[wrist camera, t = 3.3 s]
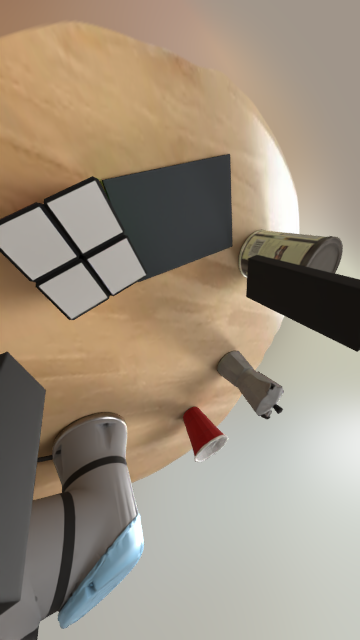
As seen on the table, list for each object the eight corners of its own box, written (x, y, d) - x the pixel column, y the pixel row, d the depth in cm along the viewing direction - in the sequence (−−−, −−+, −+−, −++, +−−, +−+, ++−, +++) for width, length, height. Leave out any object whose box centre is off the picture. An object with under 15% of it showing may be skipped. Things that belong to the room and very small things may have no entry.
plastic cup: (173, 430, 60) (193, 471, 51) (177, 408, 55) (199, 448, 46) (202, 418, 65) (224, 452, 55) (207, 396, 60) (232, 430, 50)
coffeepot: (214, 354, 51) (269, 407, 38) (241, 339, 54) (301, 384, 40) (217, 387, 60) (262, 440, 46) (240, 373, 63) (289, 419, 49)
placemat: (137, 281, 32) (138, 282, 31) (102, 180, 24) (102, 180, 23) (230, 245, 37) (232, 246, 37) (227, 154, 29) (230, 153, 29)
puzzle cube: (8, 222, 22) (-25, 230, 14) (86, 185, 23) (96, 173, 16) (70, 291, 28) (71, 323, 20) (128, 258, 29) (149, 275, 22)
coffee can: (265, 275, 46) (325, 295, 36) (233, 279, 42) (291, 303, 31) (278, 229, 41) (352, 237, 31) (243, 228, 37) (316, 236, 26)
